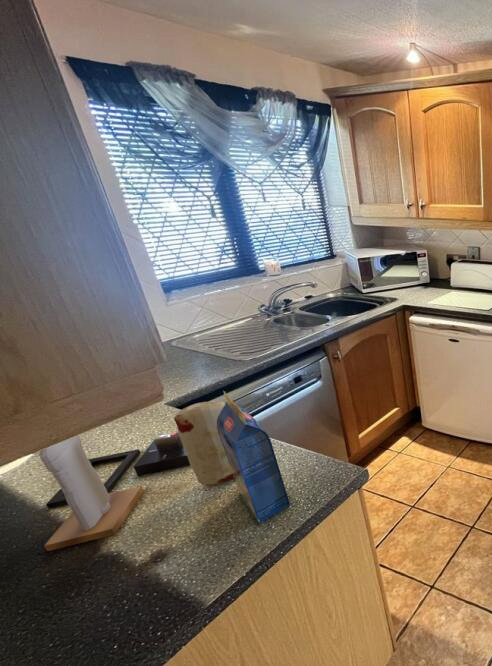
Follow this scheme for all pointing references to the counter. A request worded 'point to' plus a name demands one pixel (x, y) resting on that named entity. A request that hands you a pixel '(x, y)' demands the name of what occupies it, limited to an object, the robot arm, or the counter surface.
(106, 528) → the oak board
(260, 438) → the blue food package
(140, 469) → the panel
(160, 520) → the counter surface
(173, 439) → the knob
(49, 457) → the tall pale column
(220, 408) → the food model
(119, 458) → the black rectangular frame
